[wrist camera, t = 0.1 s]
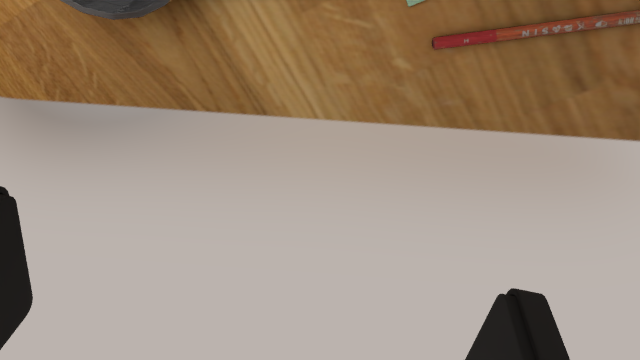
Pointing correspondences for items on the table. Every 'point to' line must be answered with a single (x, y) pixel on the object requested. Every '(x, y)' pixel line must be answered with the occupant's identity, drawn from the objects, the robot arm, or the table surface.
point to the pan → (117, 7)
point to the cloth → (413, 2)
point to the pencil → (538, 29)
